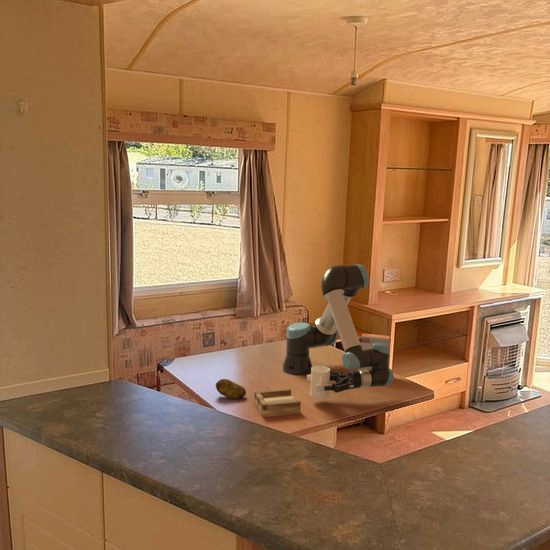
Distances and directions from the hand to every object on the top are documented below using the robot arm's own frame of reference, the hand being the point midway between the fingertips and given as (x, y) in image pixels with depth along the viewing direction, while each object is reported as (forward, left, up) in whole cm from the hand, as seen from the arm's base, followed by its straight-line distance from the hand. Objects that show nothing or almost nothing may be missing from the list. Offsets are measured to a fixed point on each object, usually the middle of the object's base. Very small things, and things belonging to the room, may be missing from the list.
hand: (311, 383), depth 241 cm
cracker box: (-26, +42, -10) cm, 50 cm away
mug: (0, +4, -7) cm, 8 cm away
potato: (-16, -32, -10) cm, 37 cm away
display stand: (0, -15, -10) cm, 18 cm away
